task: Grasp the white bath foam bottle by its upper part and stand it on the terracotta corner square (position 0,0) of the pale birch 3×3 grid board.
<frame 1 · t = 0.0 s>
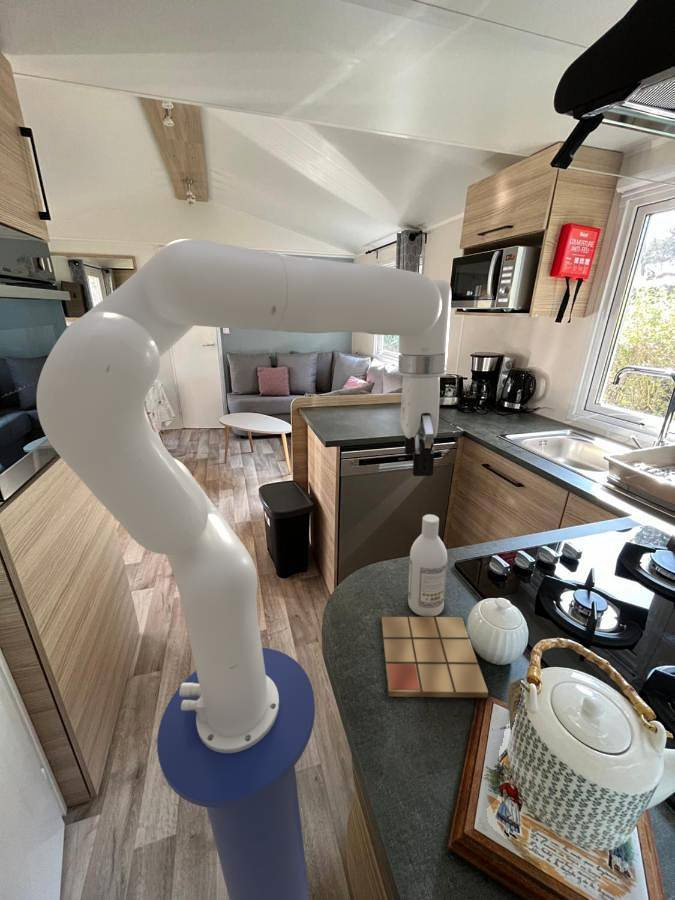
hand: (417, 463, 67), 30 cm above the worktop, tool pointing down, fingers open, 9 cm apart
grid board: (428, 655, 65), on the worktop
bath foam: (425, 606, 76), on the worktop
coral: (532, 753, 51), on the worktop
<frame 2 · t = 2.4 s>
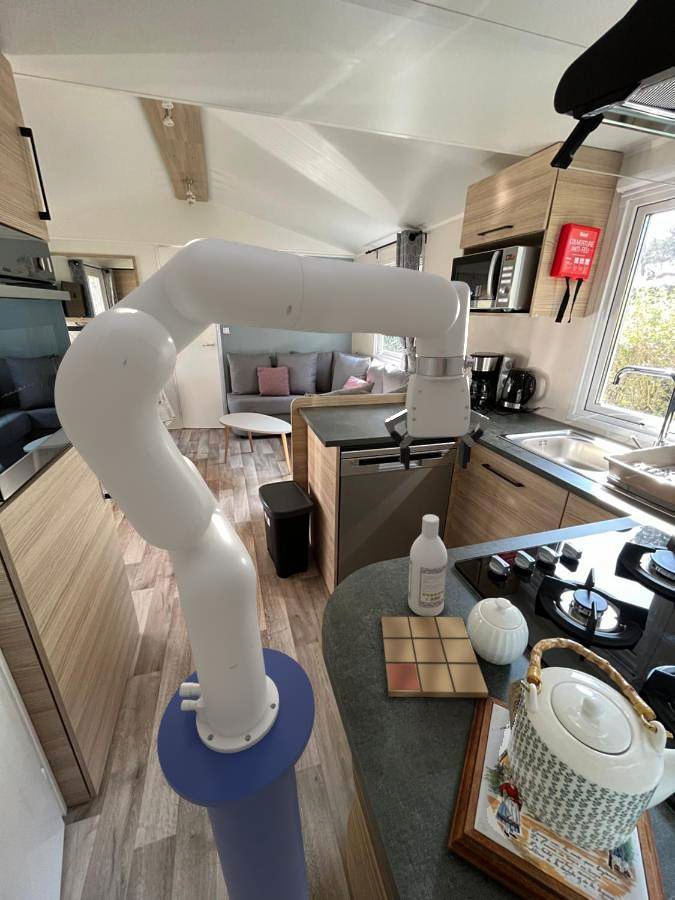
hand: (434, 466, 66), 30 cm above the worktop, tool pointing down, fingers open, 9 cm apart
nothing on the worktop moved.
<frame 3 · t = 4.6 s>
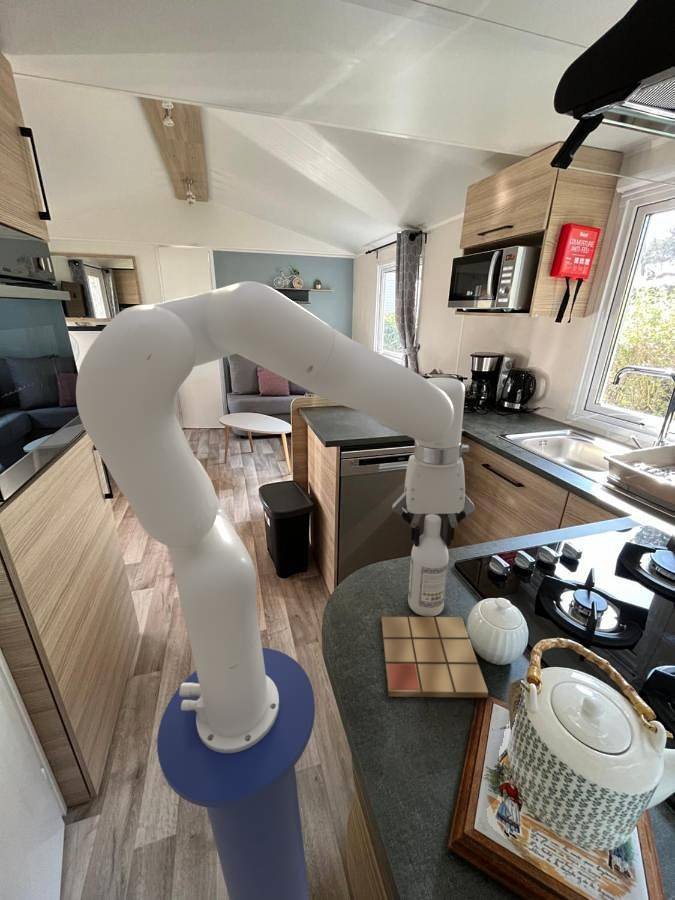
hand: (431, 541, 71), 15 cm above the worktop, tool pointing down, fingers closed on bath foam, 5 cm apart
bath foam: (425, 605, 76), on the worktop, touching gripper
everything else where it was.
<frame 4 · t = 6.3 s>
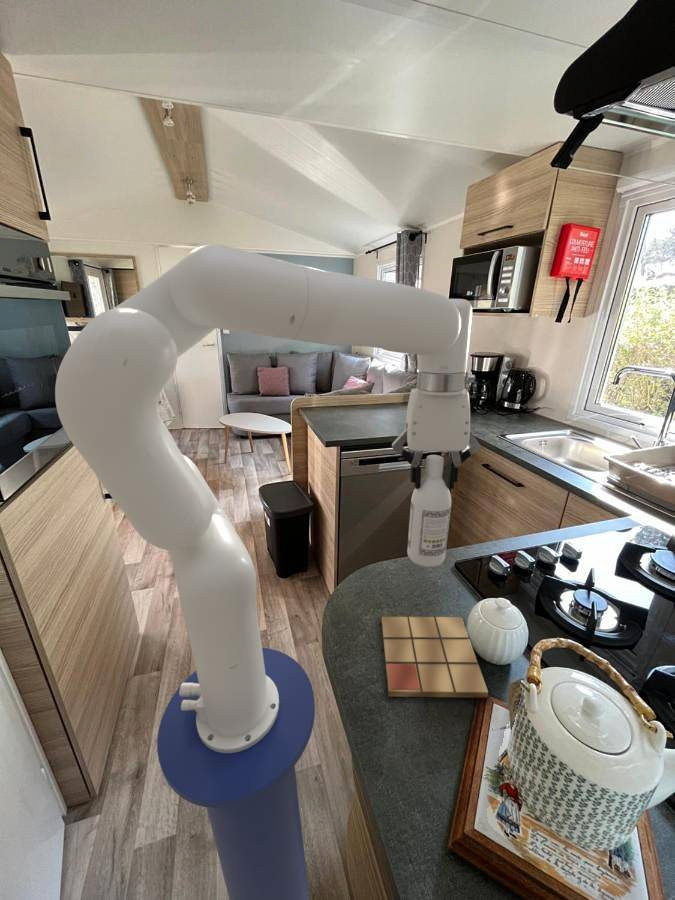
hand: (432, 484, 67), 27 cm above the worktop, tool pointing down, fingers closed on bath foam, 5 cm apart
bath foam: (425, 557, 71), point 12 cm above the worktop, touching gripper
everything else where it was.
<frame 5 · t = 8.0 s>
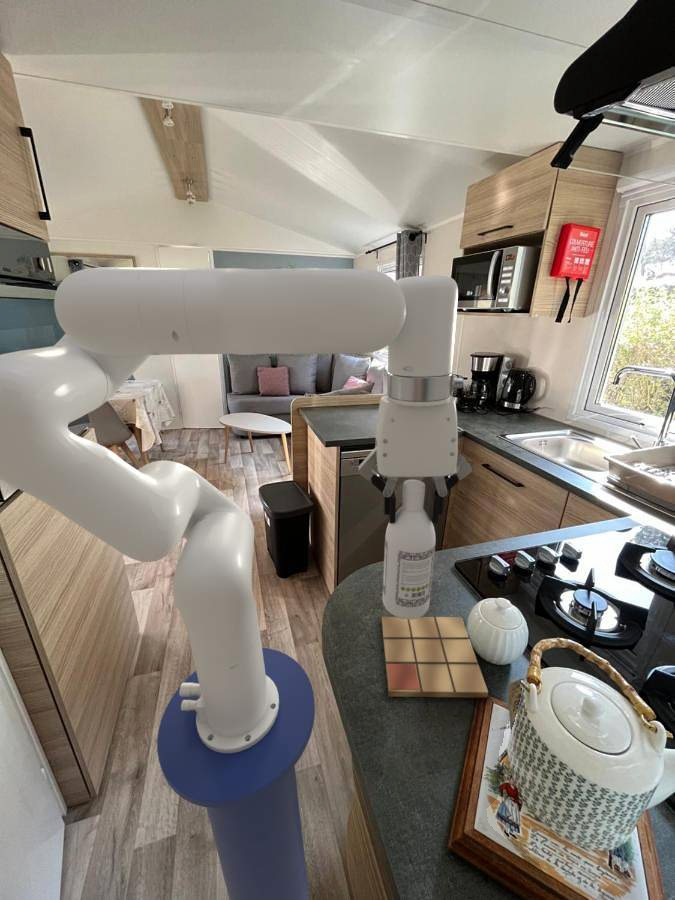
hand: (412, 517, 52), 29 cm above the worktop, tool pointing down, fingers closed on bath foam, 5 cm apart
bath foam: (405, 604, 57), point 14 cm above the worktop, touching gripper
everything else where it was.
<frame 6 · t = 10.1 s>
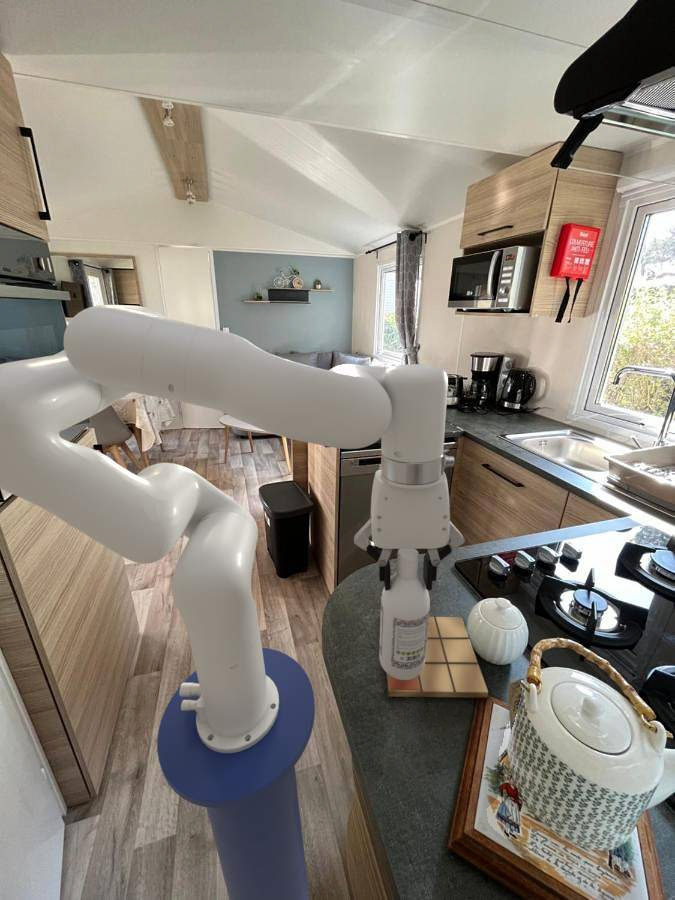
hand: (406, 582, 54), 19 cm above the worktop, tool pointing down, fingers closed on bath foam, 5 cm apart
bath foam: (401, 662, 59), point 5 cm above the worktop, touching gripper
everything else where it was.
when the fingers open (16 cm above the worktop, at t = 11.4 s): bath foam stays where it is, resting on grid board.
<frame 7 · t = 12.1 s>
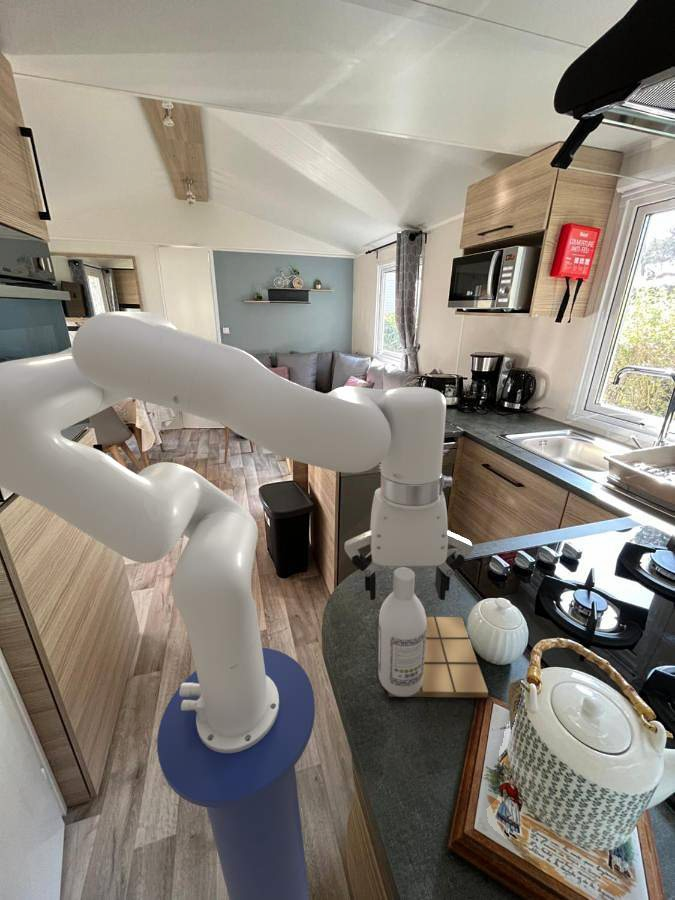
hand: (405, 593, 55), 18 cm above the worktop, tool pointing down, fingers open, 9 cm apart
bath foam: (400, 678, 60), point 1 cm above the worktop, touching grid board
everything else where it was.
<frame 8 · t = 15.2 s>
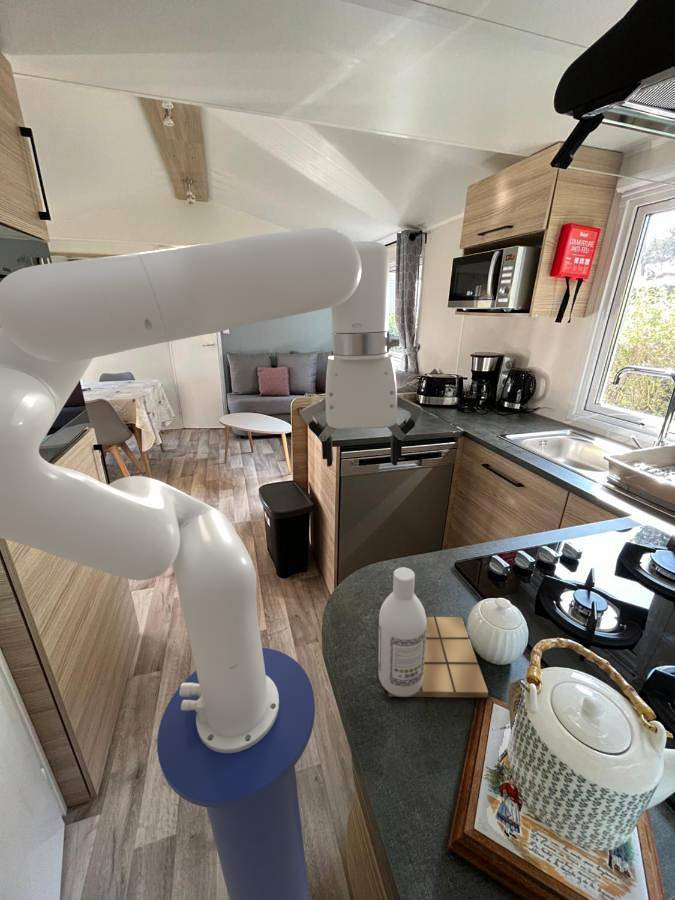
hand: (361, 462, 57), 34 cm above the worktop, tool pointing down, fingers open, 9 cm apart
nothing on the worktop moved.
at the end: bath foam 0.5 cm from the target spot on the grid board, point 1.1 cm above the grid board's base; bath foam tilted 0°; the gripper is holding nothing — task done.
